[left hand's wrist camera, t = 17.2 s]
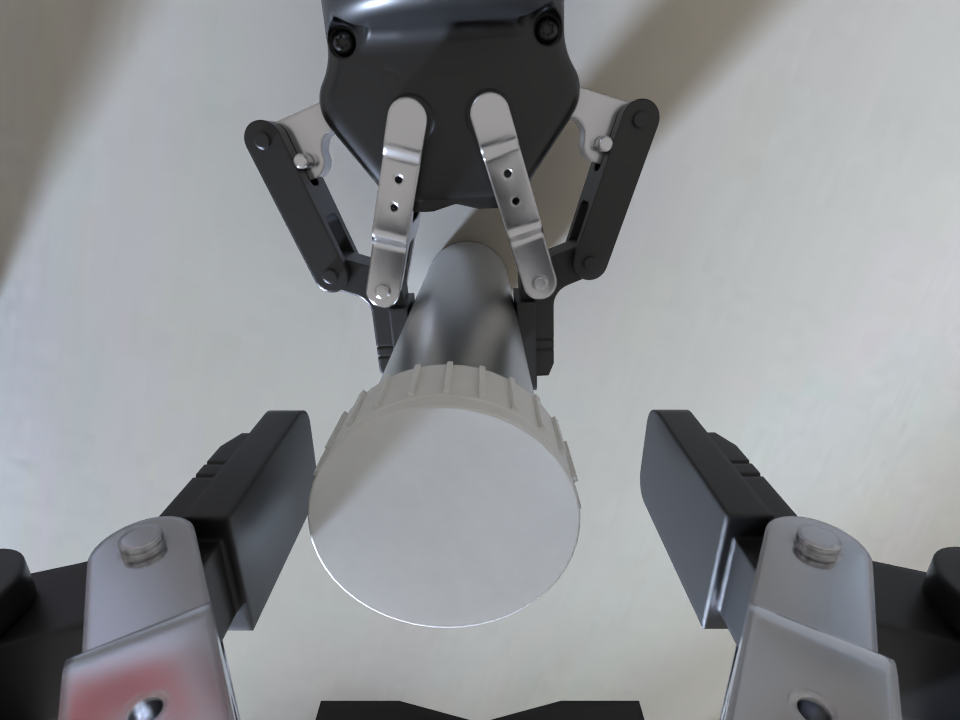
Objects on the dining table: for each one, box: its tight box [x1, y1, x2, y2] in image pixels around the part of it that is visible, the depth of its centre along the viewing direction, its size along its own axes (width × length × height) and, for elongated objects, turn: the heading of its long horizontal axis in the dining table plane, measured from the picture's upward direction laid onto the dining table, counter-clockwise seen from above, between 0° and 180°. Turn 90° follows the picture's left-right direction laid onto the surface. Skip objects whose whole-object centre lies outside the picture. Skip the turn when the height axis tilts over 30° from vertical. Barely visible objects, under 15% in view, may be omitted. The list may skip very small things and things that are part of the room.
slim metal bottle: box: [379, 242, 534, 396], centre depth 18 cm, size 4×4×18 cm
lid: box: [308, 361, 581, 628], centre depth 10 cm, size 5×5×2 cm
